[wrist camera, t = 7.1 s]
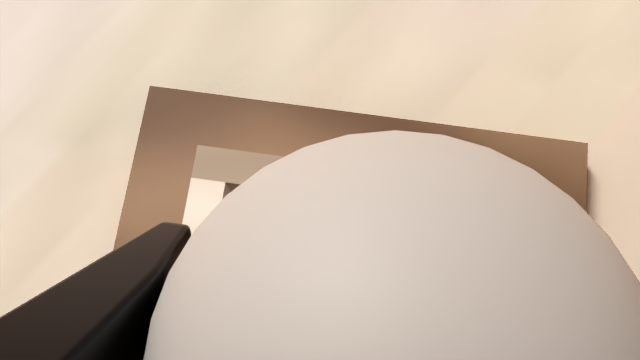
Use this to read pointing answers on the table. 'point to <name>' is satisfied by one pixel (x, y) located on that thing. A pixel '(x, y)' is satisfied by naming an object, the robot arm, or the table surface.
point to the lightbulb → (397, 263)
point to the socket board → (277, 151)
